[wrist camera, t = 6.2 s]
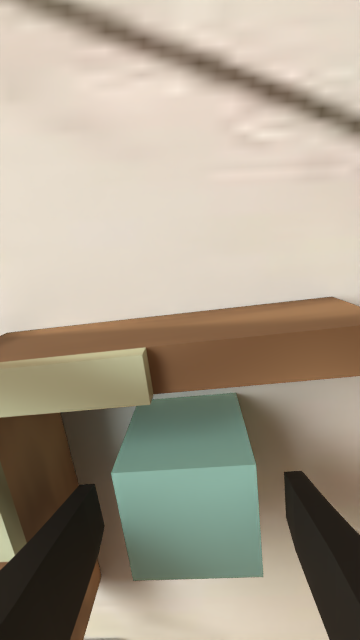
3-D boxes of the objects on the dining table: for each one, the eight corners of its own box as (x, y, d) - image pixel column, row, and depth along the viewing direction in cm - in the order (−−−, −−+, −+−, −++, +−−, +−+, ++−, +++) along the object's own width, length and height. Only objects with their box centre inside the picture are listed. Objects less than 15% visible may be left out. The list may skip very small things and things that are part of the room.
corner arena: (331, 567, 15) (389, 703, 10) (75, 576, 16) (29, 702, 12) (331, 296, 12) (417, 327, 7) (7, 333, 13) (-95, 378, 8)
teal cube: (235, 391, 13) (255, 464, 9) (242, 474, 14) (263, 576, 10) (138, 399, 13) (110, 473, 9) (152, 479, 14) (133, 580, 10)
